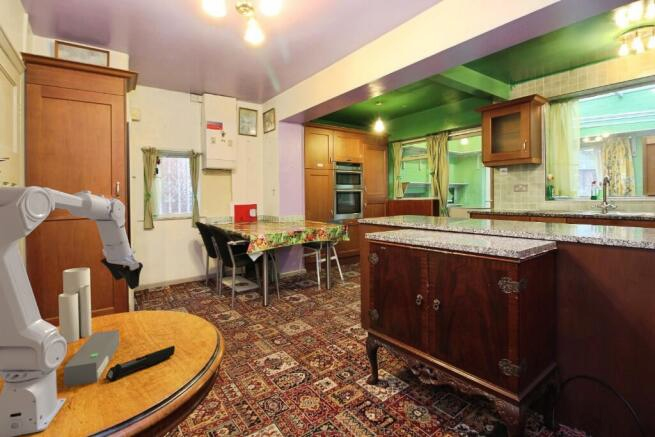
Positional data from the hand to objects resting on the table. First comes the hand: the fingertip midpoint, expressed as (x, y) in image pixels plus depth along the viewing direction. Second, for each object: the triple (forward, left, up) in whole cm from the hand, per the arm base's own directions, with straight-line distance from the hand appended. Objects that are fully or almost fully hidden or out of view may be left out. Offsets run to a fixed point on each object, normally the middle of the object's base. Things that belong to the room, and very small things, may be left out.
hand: (127, 283), depth 90 cm
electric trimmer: (-15, -6, -19) cm, 25 cm away
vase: (+13, +16, -18) cm, 28 cm away
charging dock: (-9, +5, -18) cm, 21 cm away
